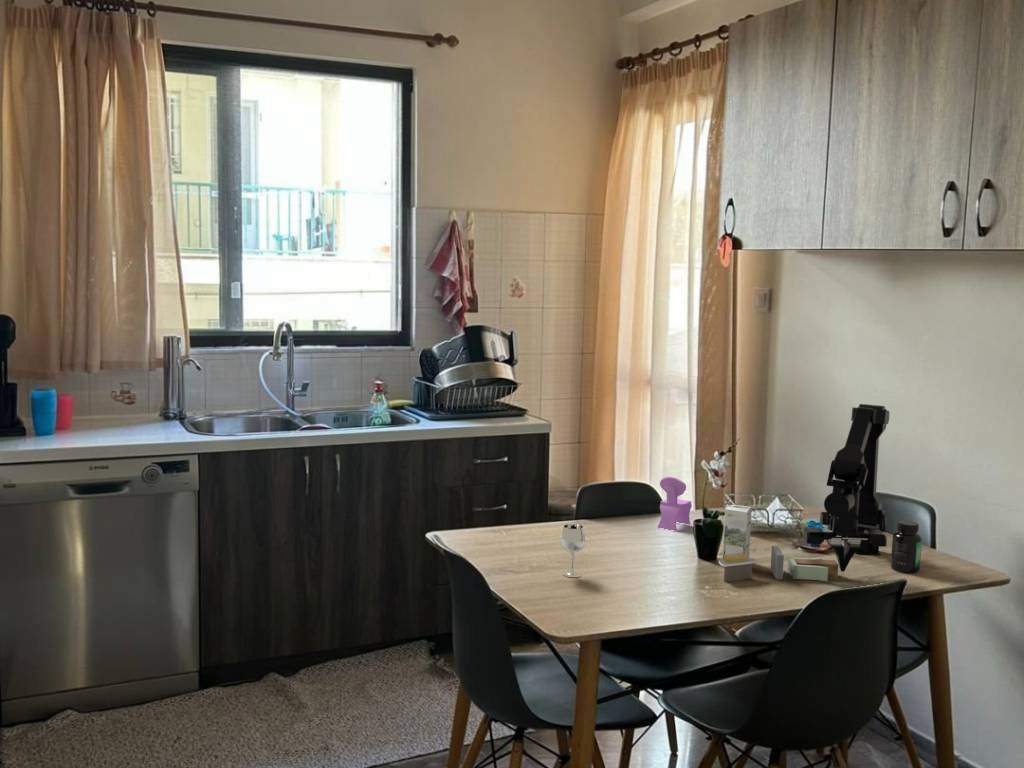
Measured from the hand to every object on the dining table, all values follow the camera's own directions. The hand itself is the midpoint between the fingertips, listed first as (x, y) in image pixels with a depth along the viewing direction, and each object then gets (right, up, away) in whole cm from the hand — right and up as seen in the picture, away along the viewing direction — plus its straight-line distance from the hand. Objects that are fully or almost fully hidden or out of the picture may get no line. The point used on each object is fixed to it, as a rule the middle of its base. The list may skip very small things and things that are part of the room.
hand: (842, 571), depth 246 cm
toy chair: (-34, +4, +44) cm, 56 cm away
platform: (-26, -2, -2) cm, 27 cm away
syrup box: (-24, 0, +10) cm, 26 cm away
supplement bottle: (+18, -1, +8) cm, 20 cm away
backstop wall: (-16, -1, +2) cm, 16 cm away
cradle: (-8, -1, +1) cm, 8 cm away
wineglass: (-66, -1, -2) cm, 66 cm away
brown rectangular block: (-6, -1, +2) cm, 6 cm away
